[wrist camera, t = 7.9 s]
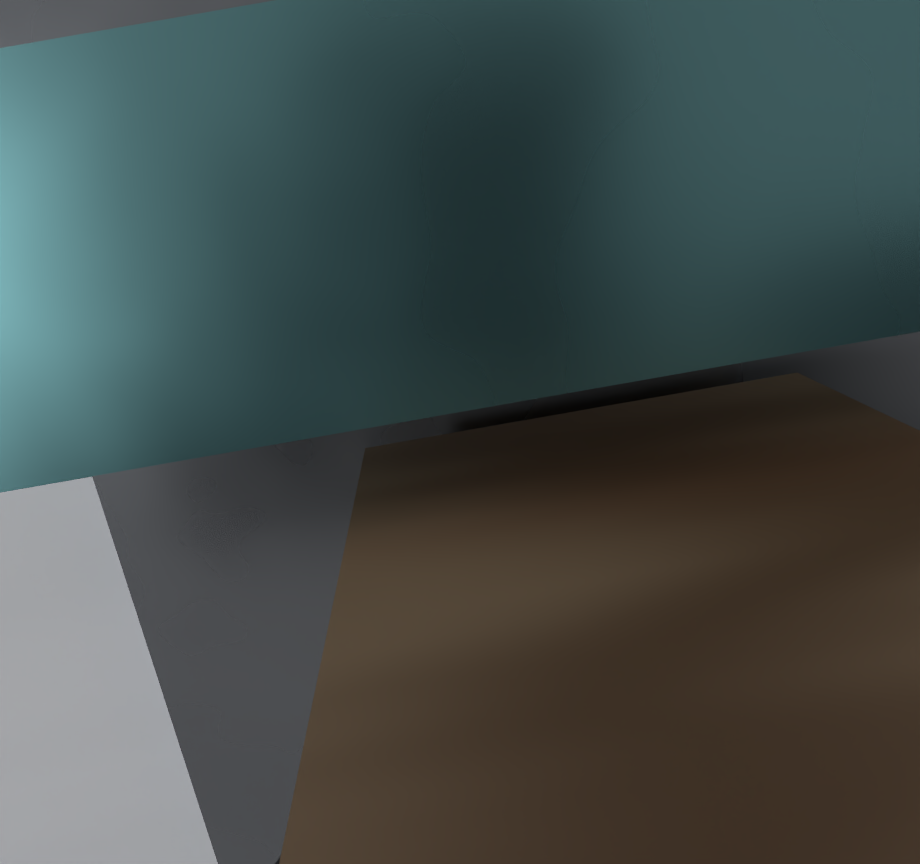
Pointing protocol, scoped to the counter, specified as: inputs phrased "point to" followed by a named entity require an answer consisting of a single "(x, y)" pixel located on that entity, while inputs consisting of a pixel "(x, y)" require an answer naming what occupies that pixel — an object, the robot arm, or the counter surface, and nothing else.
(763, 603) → the walnut block
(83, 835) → the counter surface
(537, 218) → the vise
